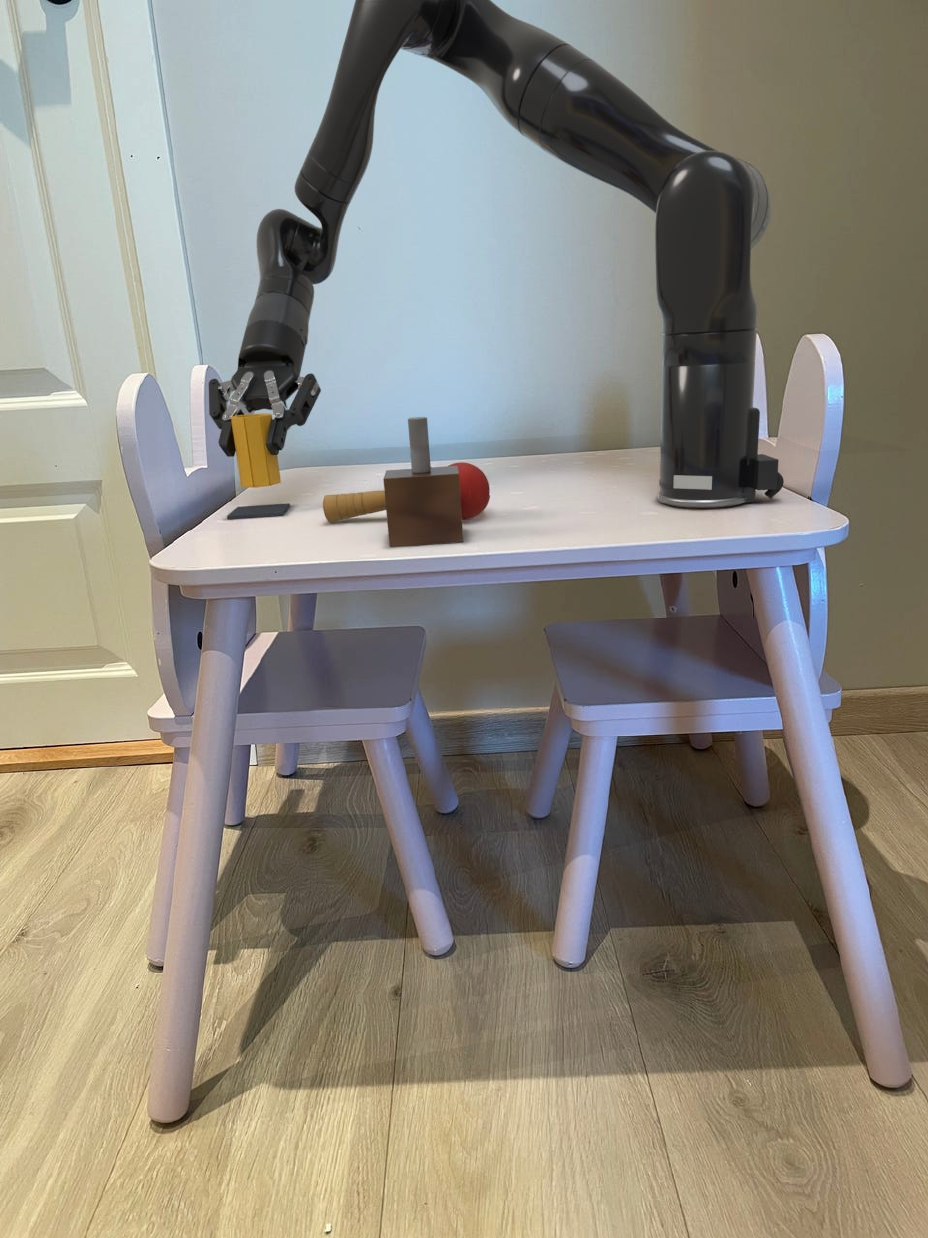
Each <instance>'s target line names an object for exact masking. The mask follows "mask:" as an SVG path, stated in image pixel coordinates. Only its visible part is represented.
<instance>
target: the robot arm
mask: <svg viewBox="0 0 928 1238" xmlns="http://www.w3.org/2000/svg"><path fill="white" fill-rule="evenodd" d="M400 50H402V51H405V52H408V53H411V54H414V55H417V56H420V57H423V58H426V59H429V60H431V61H434V62H437V63H438V64H441V65H443V66H444V67H447V68H449V69H450V70H453V72H456V73H457V74H460V76H463V77H464V78H466V79H468V80H469V81H471V82H472V83H474V84H475V85H476V86H477V87H478V88H480V89H481V90H482V92H483V93H484V94H485V95H486V97H487V98H488V99H489V101H490V102H491V104H492V105H493V106H494V108H495V110H496V111H497V112H498V113H499V115H500V116H502V118H503V119H504V120H505V121H506V123H508V124H509V126H511V127H512V128H513V129H514V130H515V131H517V132H518V133H519V134H520V135H522V136H523V137H524V138H526V139H527V140H528V141H530V142H531V143H533V144H534V145H536V146H537V147H538V148H540V149H541V150H543V152H546V153H547V154H548V155H550V156H552V157H553V158H554V159H556V160H558V161H559V162H562V163H564V164H565V165H567V166H569V167H570V168H572V169H574V170H577V171H579V172H581V173H582V174H585V175H586V176H589V177H591V178H593V179H596V180H597V181H599V182H602V183H604V184H607V185H609V186H611V187H614V188H616V189H618V190H620V191H621V192H624V193H626V194H628V195H629V196H631V197H633V198H635V200H637V201H639V202H640V203H641V204H643V205H644V206H645V207H646V208H648V209H649V210H651V212H653V213H654V214H655V221H654V222H655V223H654V225H655V226H654V254H655V257H654V258H655V293H656V302H657V306H658V310H659V312H660V316H661V319H662V320H661V321H662V323H661V325H662V329H661V331H662V333H661V334H662V335H661V336H662V337H661V344H662V345H661V392H660V393H661V394H660V397H661V398H660V399H661V401H660V405H661V406H660V453H659V454H660V455H659V456H660V457H659V458H660V459H659V460H660V461H659V469H660V470H659V491H658V501H659V502H660V503H662V504H665V505H668V506H673V507H679V508H680V507H681V508H693V509H695V508H696V509H697V508H698V509H709V508H710V509H711V508H713V509H714V508H725V507H733V506H739V505H742V504H744V503H754V502H756V494H757V492H756V491H765V492H764V495H765V496H766V497H767V498H769V499H773V498H774V497H775V496H776V495H777V494H778V493H779V492H781V490H782V488H783V487H784V483H785V482H784V481H785V480H784V477H783V475H782V474H781V473H780V472H779V462H780V461H779V459H778V458H775V457H772V456H769V455H767V454H764V453H759V441H760V440H759V438H760V422H761V421H760V418H761V411H760V409H759V408H758V407H754V392H755V390H754V389H755V373H756V351H757V333H758V332H757V331H758V330H757V329H758V314H759V305H758V301H757V298H756V296H755V294H754V289H753V285H752V277H751V268H752V267H751V262H752V249H753V248H755V246H757V244H758V243H760V241H762V239H763V237H764V236H765V234H766V233H767V231H768V229H769V226H770V223H771V219H772V214H773V213H772V212H773V202H772V201H773V200H772V196H771V191H770V188H769V185H768V183H767V182H766V179H765V177H764V175H762V173H761V172H760V170H759V169H757V167H755V166H754V165H753V164H751V163H750V162H747V161H746V160H744V159H741V158H739V157H737V156H735V155H732V154H730V153H727V152H724V151H720V150H718V149H716V148H714V147H712V146H710V145H708V144H706V143H704V142H703V141H701V140H698V139H697V138H695V137H693V136H691V135H689V134H688V133H686V132H684V131H683V130H681V129H679V128H677V126H675V125H673V124H672V123H671V122H669V120H667V119H666V118H664V116H662V115H661V114H660V113H659V112H658V111H656V110H655V109H654V108H653V107H652V105H650V104H649V103H648V102H646V101H645V100H644V99H643V98H642V97H641V96H640V95H639V94H637V93H636V92H635V91H634V90H633V89H632V88H630V87H629V86H628V85H626V84H625V83H624V82H623V81H622V80H620V79H619V78H618V77H617V76H615V75H614V74H612V73H611V72H609V71H608V70H607V69H606V68H604V67H603V66H602V65H601V64H600V63H598V62H596V60H594V59H592V58H590V56H588V55H587V54H585V53H583V52H582V51H580V50H579V49H577V48H576V47H574V46H573V45H571V44H570V43H568V42H566V41H565V40H562V39H561V38H559V37H558V36H556V35H554V34H552V33H550V32H548V31H546V30H544V29H543V28H540V27H538V26H536V25H534V24H531V23H529V22H526V21H523V20H521V19H518V18H516V17H515V16H512V15H511V14H509V13H507V12H506V11H505V10H503V9H502V8H500V7H499V6H498V5H497V4H496V3H495V2H493V1H492V0H355V1H354V4H353V8H352V11H351V16H350V19H349V23H348V27H347V30H346V35H345V38H344V41H343V45H342V48H341V52H340V57H339V60H338V64H337V68H336V70H335V75H334V80H333V83H332V87H331V91H330V94H329V97H328V101H327V104H326V107H325V110H324V112H323V116H322V119H321V121H320V124H319V125H318V129H317V131H316V134H315V136H314V138H313V140H312V142H311V145H310V147H309V149H308V152H307V153H306V156H305V158H304V160H303V163H302V166H301V168H300V170H299V172H298V174H297V177H296V179H295V183H294V194H295V196H296V197H297V200H298V201H299V202H300V203H301V204H302V206H304V208H306V209H307V210H308V211H309V212H310V213H311V214H312V215H313V216H314V217H315V218H316V219H317V220H318V221H319V223H320V225H321V226H320V227H319V226H317V225H315V224H313V223H311V222H309V221H307V220H306V219H304V218H302V217H300V216H299V215H296V214H294V213H293V212H291V211H290V210H287V209H283V208H275V209H272V210H270V211H269V212H267V213H266V214H264V216H263V217H262V218H261V220H260V223H259V224H258V227H257V232H256V238H255V239H256V241H255V242H256V243H255V244H256V248H255V249H256V257H257V264H258V276H259V281H258V282H259V283H258V286H257V291H256V295H255V299H254V302H253V303H254V304H253V306H252V308H251V310H250V313H249V314H248V318H247V322H246V326H245V329H244V334H243V338H242V341H241V345H240V349H239V353H238V357H237V369H236V372H234V373H233V375H232V376H231V379H230V380H226V381H222V382H220V381H219V380H218V379H217V378H211V379H210V380H209V381H208V415H209V417H211V419H212V420H213V421H212V422H214V424H215V425H216V427H217V428H218V429H219V430H220V433H219V434H220V435H219V438H218V442H217V443H218V446H219V447H220V449H221V450H222V452H223V453H224V454H225V456H226V457H227V458H233V457H235V456H236V449H235V443H234V436H233V429H232V422H231V417H232V416H238V415H247V414H255V412H256V411H261V410H269V411H272V413H273V414H272V415H273V418H272V419H271V422H270V426H269V431H268V435H267V440H266V447H267V449H268V451H269V452H270V454H271V455H277V456H279V453H280V451H283V449H284V448H285V443H286V439H287V434H288V431H289V430H290V429H291V427H292V426H295V425H296V426H298V427H302V426H305V424H306V423H307V420H308V418H309V416H310V414H311V412H312V410H313V408H314V406H315V404H316V402H317V400H318V398H319V396H320V394H321V393H322V389H321V387H320V384H319V382H318V380H317V377H316V376H315V374H314V373H311V372H309V373H307V374H306V375H305V376H301V372H302V367H303V362H304V358H305V353H306V348H307V345H308V342H309V332H310V330H309V329H310V328H309V325H310V320H311V316H312V309H313V305H314V301H315V286H314V285H319V284H322V283H323V282H326V281H327V280H328V279H329V278H330V276H331V275H332V274H333V271H334V268H335V265H336V261H337V256H338V248H339V241H340V236H341V231H342V228H343V224H344V220H345V217H346V214H347V212H348V209H349V207H350V204H351V202H352V200H353V198H354V197H355V194H356V192H357V190H358V188H359V187H360V184H361V183H362V180H363V178H364V177H365V176H364V175H365V174H366V171H367V169H368V166H369V163H370V160H371V156H372V153H373V148H374V147H373V145H374V134H375V116H376V106H377V101H378V96H379V92H380V89H381V86H382V83H383V81H384V78H385V76H386V74H387V71H388V70H389V68H390V67H391V64H392V63H393V61H394V60H395V58H396V56H397V55H398V53H399V51H400ZM232 393H233V394H232ZM295 393H296V394H295ZM231 394H232V395H231ZM293 394H295V396H294V397H293V400H292V402H291V404H290V406H289V407H288V404H287V401H288V399H289V398H290V397H292V396H293ZM227 403H229V405H228V404H227Z"/></svg>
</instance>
